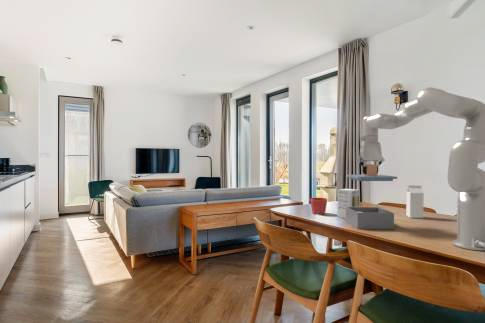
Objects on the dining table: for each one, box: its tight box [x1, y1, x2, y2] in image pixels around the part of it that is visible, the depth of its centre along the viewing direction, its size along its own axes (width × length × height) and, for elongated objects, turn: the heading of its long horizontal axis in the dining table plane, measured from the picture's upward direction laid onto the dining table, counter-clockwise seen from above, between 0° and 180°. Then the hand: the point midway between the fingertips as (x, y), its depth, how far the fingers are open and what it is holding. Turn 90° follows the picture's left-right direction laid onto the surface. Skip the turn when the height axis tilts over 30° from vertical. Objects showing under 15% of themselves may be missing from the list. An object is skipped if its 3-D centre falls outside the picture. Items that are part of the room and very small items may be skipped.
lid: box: [345, 163, 398, 182], centre depth 159 cm, size 19×19×8 cm
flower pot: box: [309, 197, 328, 216], centre depth 192 cm, size 11×11×10 cm
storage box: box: [345, 206, 395, 230], centre depth 159 cm, size 18×18×8 cm
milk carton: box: [405, 185, 424, 219], centre depth 180 cm, size 7×7×19 cm
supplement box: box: [337, 188, 360, 220], centre depth 179 cm, size 10×9×17 cm
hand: (370, 173), depth 159 cm, fingers closed on lid, 5 cm apart
